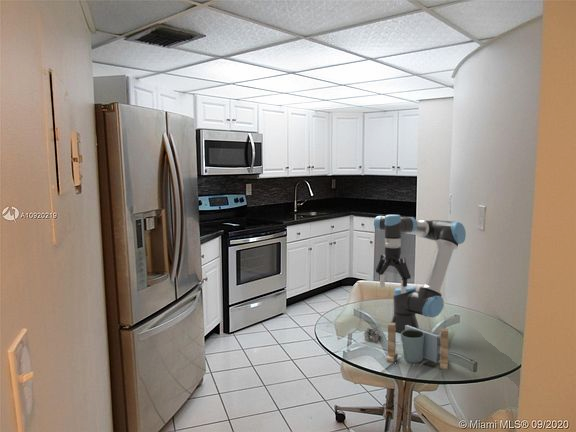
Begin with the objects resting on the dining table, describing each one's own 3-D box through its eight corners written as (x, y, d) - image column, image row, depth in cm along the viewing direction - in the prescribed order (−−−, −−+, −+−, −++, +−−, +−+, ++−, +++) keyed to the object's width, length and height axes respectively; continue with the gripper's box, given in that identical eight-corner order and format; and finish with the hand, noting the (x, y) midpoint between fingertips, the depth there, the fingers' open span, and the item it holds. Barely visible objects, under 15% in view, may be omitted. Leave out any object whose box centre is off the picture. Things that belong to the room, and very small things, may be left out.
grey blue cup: (398, 357, 204) (396, 332, 202) (415, 351, 208) (413, 327, 207) (412, 365, 195) (411, 339, 193) (430, 359, 199) (429, 334, 197)
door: (409, 348, 213) (409, 324, 212) (442, 361, 197) (442, 335, 196) (404, 349, 211) (404, 325, 210) (438, 363, 195) (438, 337, 194)
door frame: (390, 352, 209) (390, 320, 208) (448, 360, 199) (448, 326, 198) (386, 360, 200) (386, 326, 198) (447, 369, 190) (447, 333, 189)
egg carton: (377, 342, 223) (377, 334, 223) (362, 340, 226) (362, 333, 226) (381, 335, 233) (381, 328, 233) (367, 333, 236) (367, 326, 235)
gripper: (368, 244, 220) (368, 286, 221) (407, 250, 199) (407, 296, 201) (379, 243, 224) (379, 284, 226) (418, 249, 203) (418, 294, 205)
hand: (392, 290), depth 213 cm, fingers open, 13 cm apart
